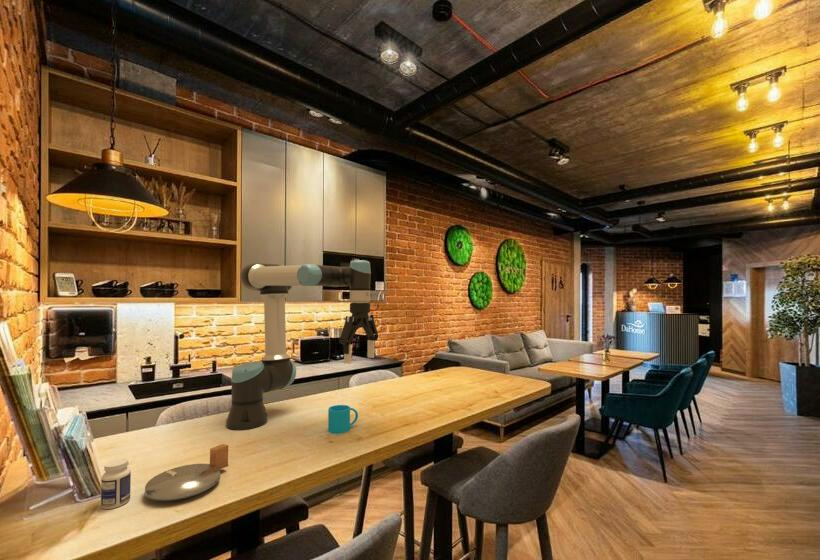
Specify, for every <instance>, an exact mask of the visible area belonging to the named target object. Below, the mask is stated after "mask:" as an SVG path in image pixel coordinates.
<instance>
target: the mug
mask: <svg viewBox="0 0 820 560" xmlns="http://www.w3.org/2000/svg"><path fill="white" fill-rule="evenodd" d="M351 411H353V412H354V414H355V417H354V420H352V422H351ZM327 413H328V414H327V416H328V418H327V419H328V420H327V424H328V425H327V426H328V427H327V429H328V430H327V431H328V433H330V434H345V433H348V432H349V431H350V430H351V427H352V426H353V425H354V424H355V423H356V422H357V421H358V418H359V413H358V411H357V410H356V409H355V408H353V407H351V406H350V405H345V404H337V405H331V406H330V407H328V412H327Z"/></svg>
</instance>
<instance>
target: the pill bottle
mask: <svg viewBox="0 0 820 560" xmlns="http://www.w3.org/2000/svg"><path fill="white" fill-rule="evenodd" d="M128 465H130V464H129V459H128V458H125V457H124V458H116V459H112V460H110V461H108V462H106V463H105V464H104V466H103V470H104V471H105V472H104V473H103V474H102V476H101V477H100V479H101V480H100V483H101V485H100V486H101V487H100V488H101V489H100V490H101V491H100V507H101V508H102V509H103V510H111V509H115V508H116V509H117V508H119V507H122V506H123V505H125V504H126V503H128V502H129V501H130V500H131V481H132V480H131V476H132V475H131V473H132V472H131V469H130V468H129V467H128Z"/></svg>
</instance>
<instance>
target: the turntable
mask: <svg viewBox="0 0 820 560" xmlns="http://www.w3.org/2000/svg"><path fill="white" fill-rule="evenodd" d="M226 467H229V445H228V444H224V443H221V444H219V445H217V446H214V447H211V448H210V449H209V463H193V464H187V465H186V464H185V465H182V466H178V467H174V468H171V469H168V470H166V471H163V472H161V473H158V474H157V475H155V476H154V477H152V478H151V479H149V480H148V481H147V483H146V484H145V485H144V487H145V488H144V495H145V497H146V498H147V499H148V500H151V501H154V502H155V501H156V502H174V501H173V500H176V501H180V500H179V499H182V500H185V499H184V498H186V499H188V498H187V497H190V498H191V496H192V497H194V495H195V496H196V495H199V494H202V493H204V492H206V491H207V490H210V489H211V488H213V487H214V486H215V485H216V484H217V483H218V482H219V481H220V480H221V470H222V469H224V468H226Z"/></svg>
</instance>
